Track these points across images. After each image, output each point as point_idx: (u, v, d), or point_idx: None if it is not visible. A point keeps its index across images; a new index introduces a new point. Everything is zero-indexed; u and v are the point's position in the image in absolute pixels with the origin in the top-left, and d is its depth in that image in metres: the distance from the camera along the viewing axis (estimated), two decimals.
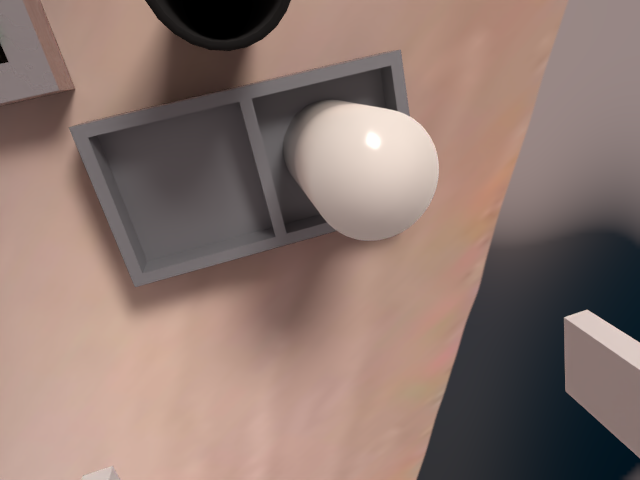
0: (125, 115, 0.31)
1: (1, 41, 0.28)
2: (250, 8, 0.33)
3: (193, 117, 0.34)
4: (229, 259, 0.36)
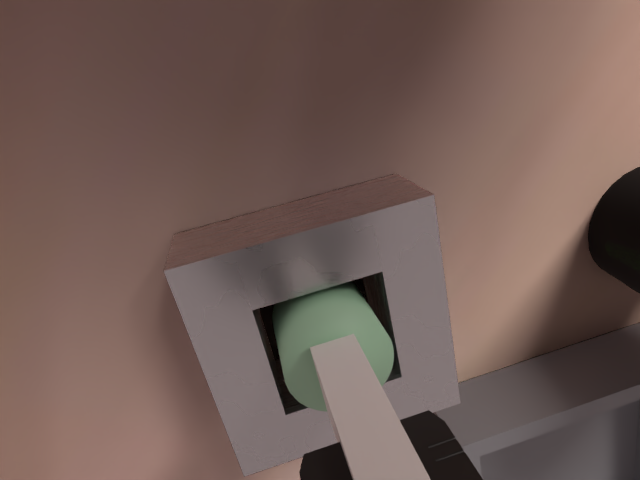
0: (537, 421, 0.20)
1: (399, 351, 0.17)
2: None
3: None
4: None
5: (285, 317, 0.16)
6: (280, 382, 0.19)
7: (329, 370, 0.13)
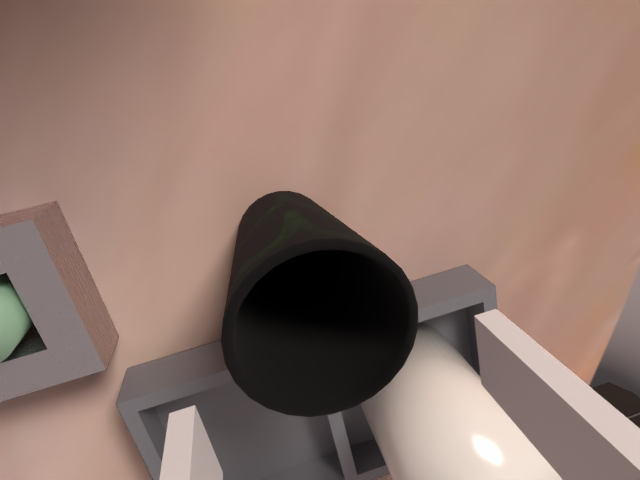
0: (181, 385, 0.26)
1: (38, 330, 0.23)
2: None
3: None
4: None
5: None
6: None
7: (176, 445, 0.12)
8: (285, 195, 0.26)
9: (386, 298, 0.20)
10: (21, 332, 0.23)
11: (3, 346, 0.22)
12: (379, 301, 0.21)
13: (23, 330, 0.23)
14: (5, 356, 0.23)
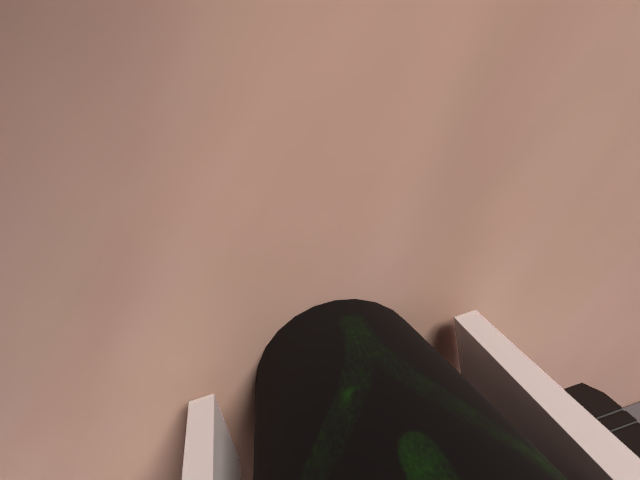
0: None
1: None
2: None
3: None
4: None
5: None
6: None
7: (197, 431, 0.12)
8: (357, 323, 0.12)
9: None
10: None
11: None
12: None
13: None
14: None
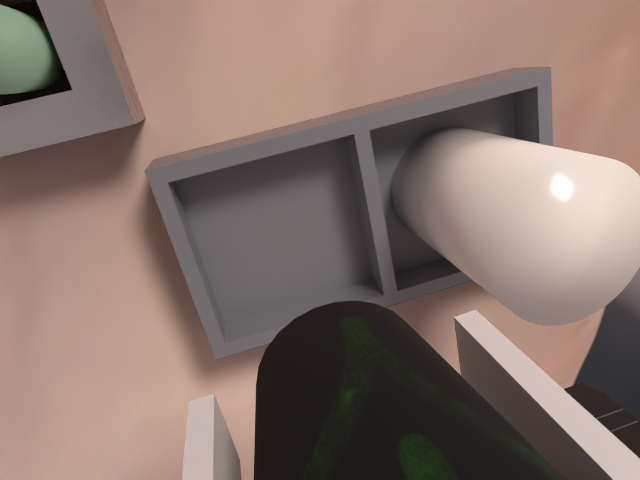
0: (215, 154, 0.24)
1: (63, 64, 0.21)
2: None
3: (288, 151, 0.27)
4: None
5: None
6: None
7: (197, 431, 0.12)
8: (357, 324, 0.12)
9: None
10: (44, 61, 0.21)
11: (25, 68, 0.20)
12: None
13: (46, 62, 0.21)
14: (27, 81, 0.21)
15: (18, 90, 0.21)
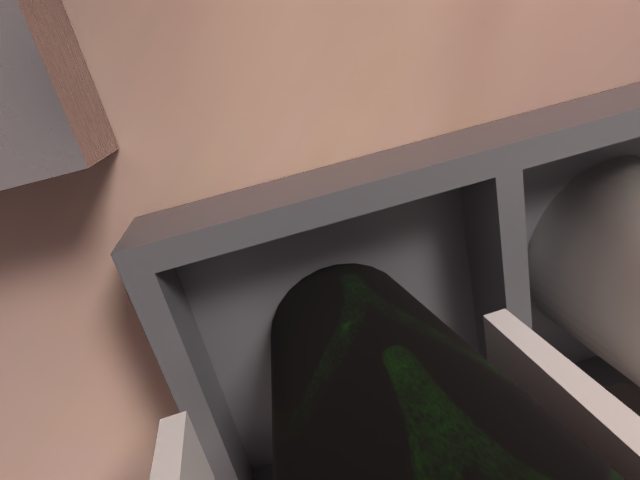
0: (243, 220, 0.13)
1: None
2: None
3: None
4: None
5: None
6: None
7: (166, 452, 0.12)
8: (354, 279, 0.15)
9: None
10: None
11: None
12: None
13: None
14: None
15: None
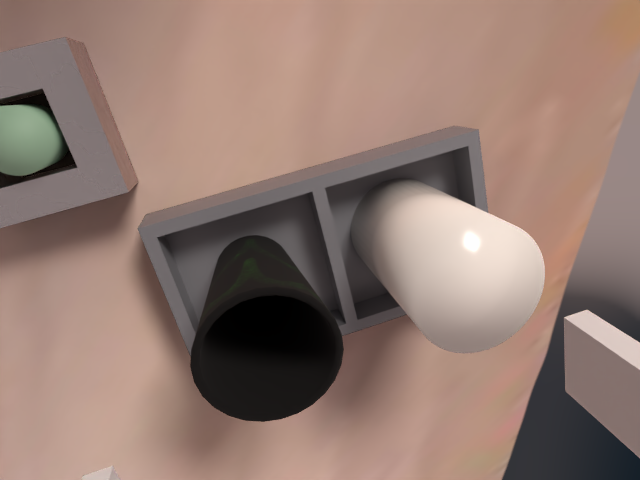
0: (195, 212, 0.29)
1: (70, 148, 0.27)
2: None
3: None
4: None
5: None
6: (12, 182, 0.28)
7: None
8: (251, 240, 0.31)
9: (323, 327, 0.25)
10: (55, 147, 0.26)
11: (40, 154, 0.26)
12: (320, 328, 0.26)
13: (56, 147, 0.26)
14: (41, 165, 0.26)
15: (34, 171, 0.26)
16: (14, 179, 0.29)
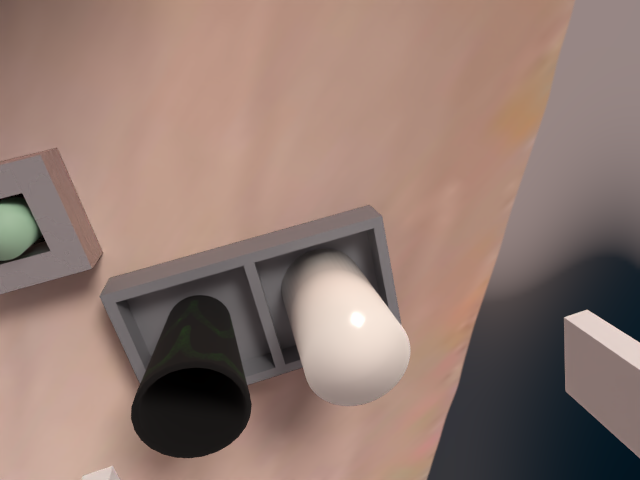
0: (147, 283, 0.36)
1: (44, 236, 0.33)
2: None
3: None
4: None
5: None
6: None
7: None
8: (195, 302, 0.38)
9: None
10: (32, 236, 0.33)
11: (20, 244, 0.32)
12: None
13: (33, 236, 0.33)
14: (21, 252, 0.33)
15: (15, 257, 0.33)
16: None
